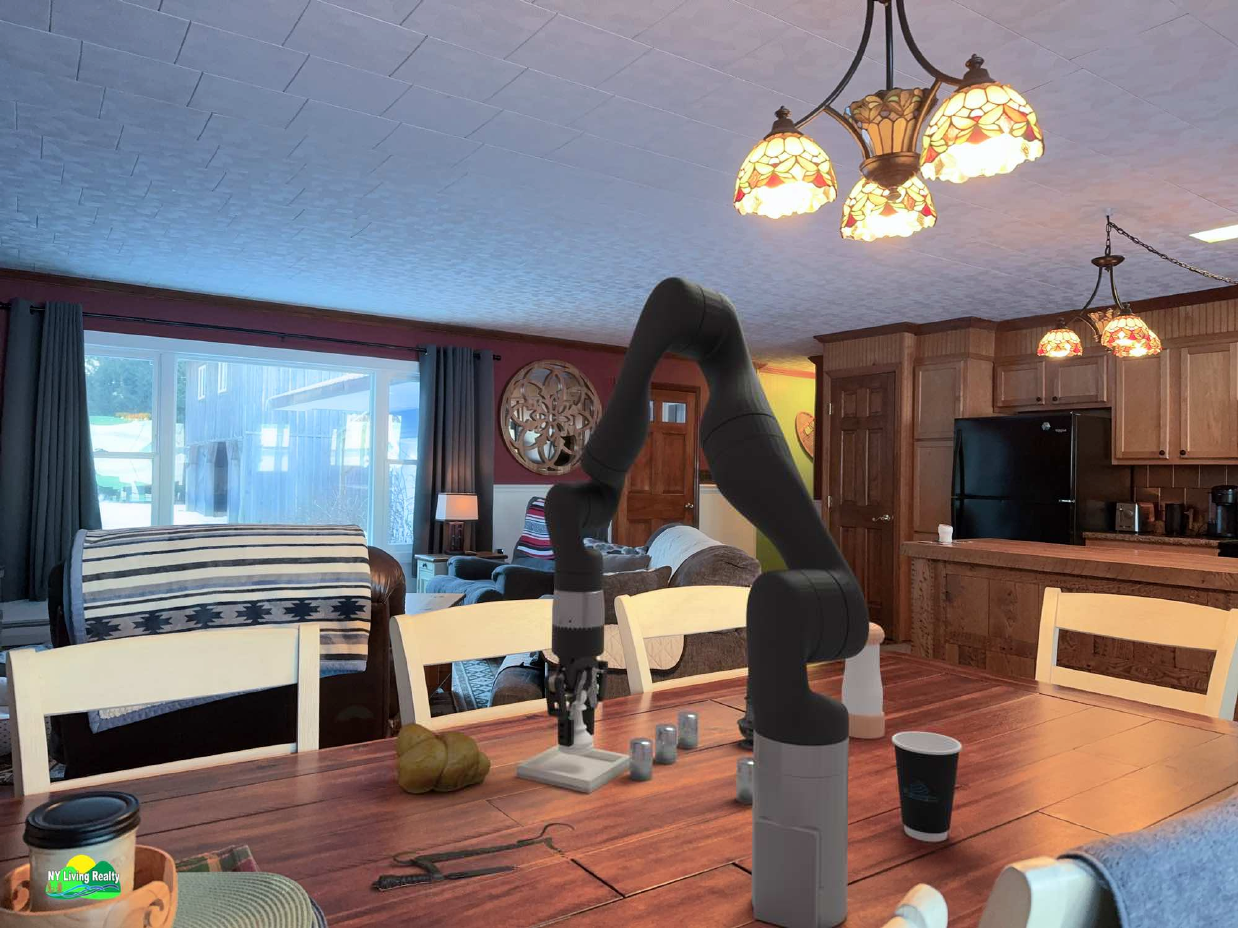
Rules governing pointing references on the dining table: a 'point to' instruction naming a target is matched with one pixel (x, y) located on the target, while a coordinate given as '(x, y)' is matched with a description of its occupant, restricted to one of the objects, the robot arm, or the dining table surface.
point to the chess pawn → (579, 732)
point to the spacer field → (686, 740)
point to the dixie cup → (926, 782)
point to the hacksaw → (435, 874)
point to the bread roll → (438, 760)
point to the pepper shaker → (865, 689)
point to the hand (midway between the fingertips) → (576, 739)
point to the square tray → (574, 768)
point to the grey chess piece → (747, 725)
